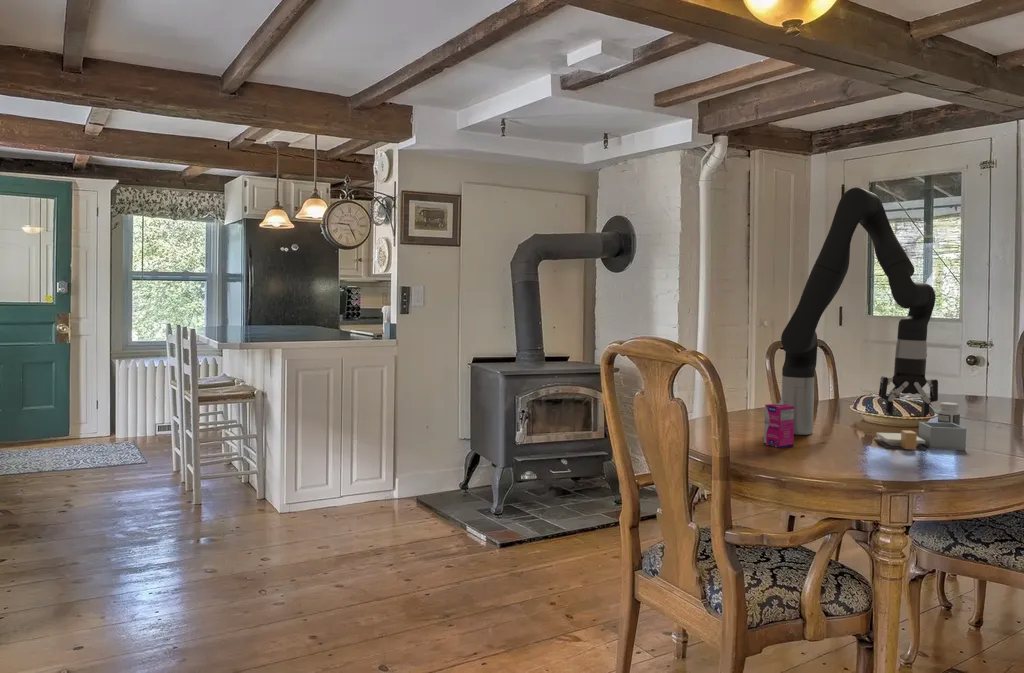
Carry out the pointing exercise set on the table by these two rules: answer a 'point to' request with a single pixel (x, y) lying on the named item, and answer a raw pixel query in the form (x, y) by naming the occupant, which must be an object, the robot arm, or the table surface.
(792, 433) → the supplement box
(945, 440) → the tub
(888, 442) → the lid
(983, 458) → the table surface
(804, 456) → the table surface
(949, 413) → the pill bottle
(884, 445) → the mat
